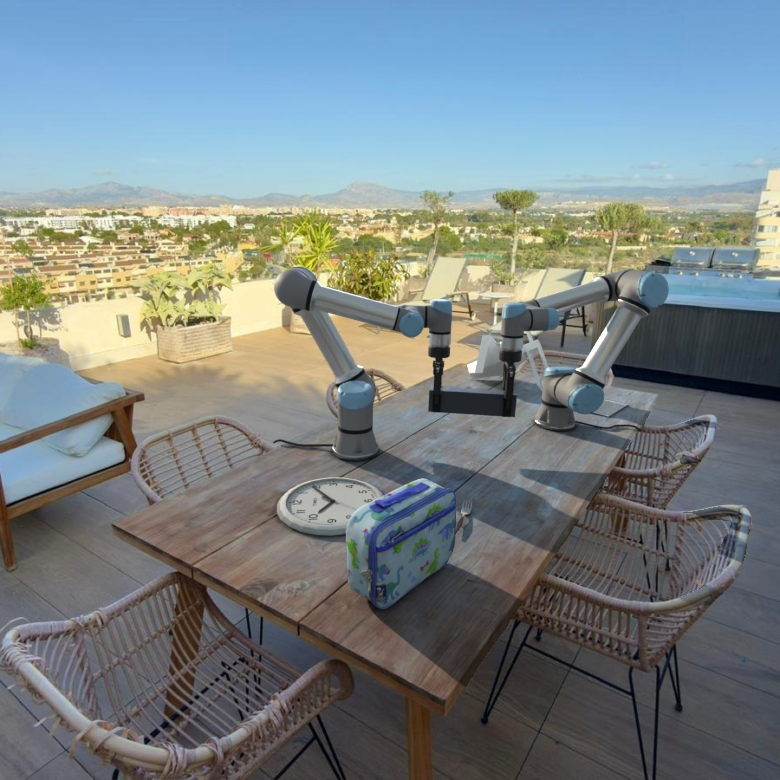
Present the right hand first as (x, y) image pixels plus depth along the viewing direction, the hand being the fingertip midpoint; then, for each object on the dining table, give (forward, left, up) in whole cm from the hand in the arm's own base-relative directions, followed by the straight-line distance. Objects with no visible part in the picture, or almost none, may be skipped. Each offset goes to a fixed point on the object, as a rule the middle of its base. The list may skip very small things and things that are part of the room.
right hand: (505, 413), depth 183 cm
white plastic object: (-8, -72, -11) cm, 73 cm away
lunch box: (+28, +81, -11) cm, 86 cm away
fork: (+15, +55, -11) cm, 58 cm away
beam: (+12, 0, 0) cm, 12 cm away
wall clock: (+50, +52, -11) cm, 73 cm away
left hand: (+24, 0, 0) cm, 24 cm away
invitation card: (-46, -47, -11) cm, 66 cm away
